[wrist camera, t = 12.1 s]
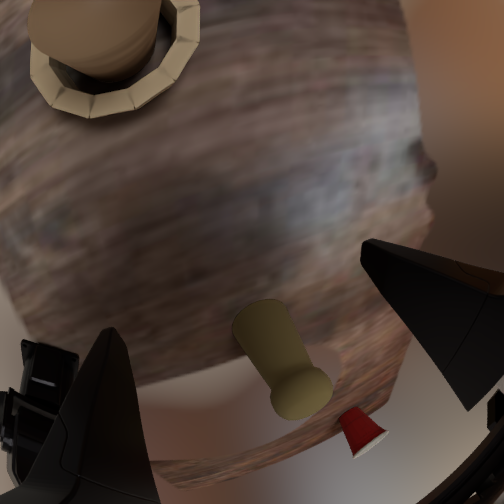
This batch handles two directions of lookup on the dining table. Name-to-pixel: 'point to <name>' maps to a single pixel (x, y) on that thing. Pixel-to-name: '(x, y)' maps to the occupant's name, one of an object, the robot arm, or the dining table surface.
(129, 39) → the walnut peg
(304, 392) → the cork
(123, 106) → the wooden ring
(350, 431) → the plastic cup
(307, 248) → the dining table surface
